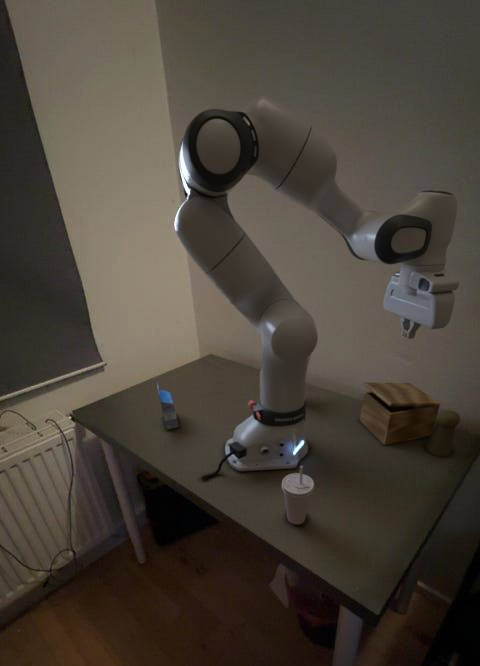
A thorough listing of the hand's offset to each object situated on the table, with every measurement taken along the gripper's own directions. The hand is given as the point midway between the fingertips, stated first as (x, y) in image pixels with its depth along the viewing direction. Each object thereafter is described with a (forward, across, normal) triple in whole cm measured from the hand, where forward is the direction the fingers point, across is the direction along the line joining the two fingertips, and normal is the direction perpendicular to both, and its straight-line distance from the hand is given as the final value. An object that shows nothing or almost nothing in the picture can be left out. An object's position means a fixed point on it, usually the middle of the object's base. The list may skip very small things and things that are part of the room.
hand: (407, 336), depth 86 cm
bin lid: (+16, 0, +1) cm, 16 cm away
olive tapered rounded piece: (+27, +12, +7) cm, 31 cm away
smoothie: (+27, +25, -37) cm, 52 cm away
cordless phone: (+27, -23, -61) cm, 71 cm away
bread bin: (+27, 0, +2) cm, 27 cm away
